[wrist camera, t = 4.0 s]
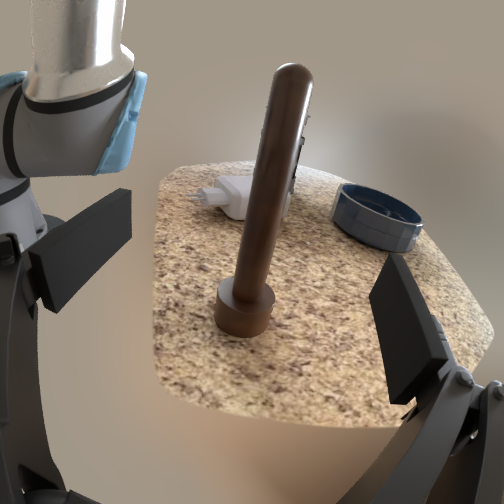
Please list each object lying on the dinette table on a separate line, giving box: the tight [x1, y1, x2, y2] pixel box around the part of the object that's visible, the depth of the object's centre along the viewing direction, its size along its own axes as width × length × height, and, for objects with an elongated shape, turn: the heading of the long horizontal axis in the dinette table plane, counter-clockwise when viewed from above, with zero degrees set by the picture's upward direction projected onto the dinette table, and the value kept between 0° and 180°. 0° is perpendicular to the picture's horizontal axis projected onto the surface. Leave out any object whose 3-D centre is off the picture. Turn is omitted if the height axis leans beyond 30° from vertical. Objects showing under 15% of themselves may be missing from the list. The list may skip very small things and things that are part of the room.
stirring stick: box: [214, 63, 314, 338], centre depth 20 cm, size 5×5×21 cm
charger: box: [188, 176, 291, 220], centre depth 45 cm, size 5×9×15 cm
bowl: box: [331, 183, 425, 252], centre depth 49 cm, size 17×17×6 cm
